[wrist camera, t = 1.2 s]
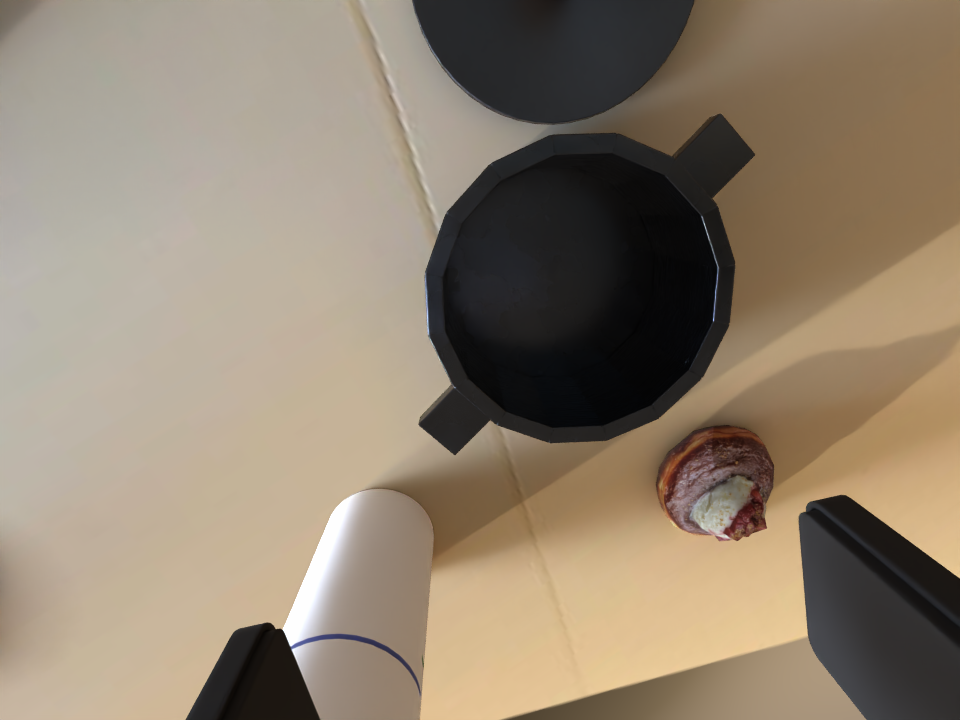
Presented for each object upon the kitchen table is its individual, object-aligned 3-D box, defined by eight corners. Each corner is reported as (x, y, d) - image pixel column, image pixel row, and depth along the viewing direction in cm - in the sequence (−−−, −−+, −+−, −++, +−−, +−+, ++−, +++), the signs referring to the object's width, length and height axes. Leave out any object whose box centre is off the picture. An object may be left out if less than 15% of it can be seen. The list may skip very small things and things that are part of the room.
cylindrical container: (411, 474, 35) (304, 1061, 11) (448, 563, 37) (428, 1231, 13) (309, 508, 35) (-14, 1148, 11) (351, 594, 37) (152, 1301, 13)
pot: (357, 315, 32) (321, 351, 24) (586, 59, 29) (637, -1, 21) (519, 456, 35) (537, 531, 27) (744, 237, 32) (844, 247, 23)
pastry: (707, 545, 37) (744, 595, 32) (625, 489, 36) (651, 532, 31) (788, 459, 36) (840, 498, 31) (706, 397, 34) (747, 427, 29)
